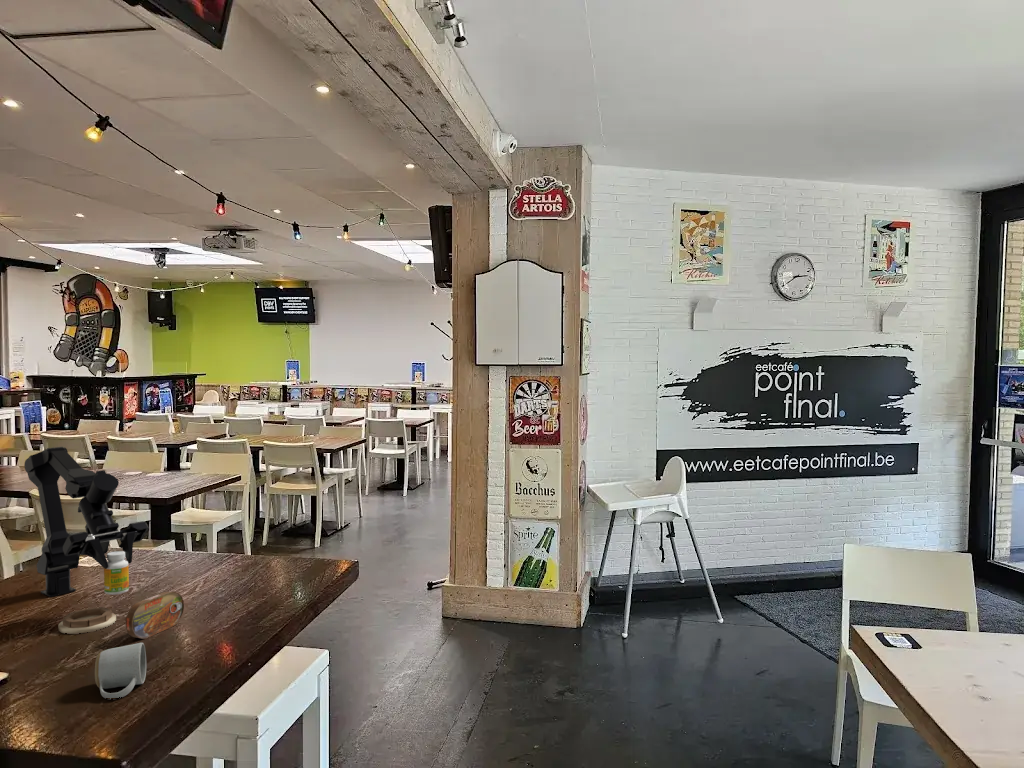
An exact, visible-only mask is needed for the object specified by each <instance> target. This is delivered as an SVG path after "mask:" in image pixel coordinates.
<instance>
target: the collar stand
mask: <svg viewBox="0 0 1024 768" xmlns="http://www.w3.org/2000/svg"><path fill="white" fill-rule="evenodd" d="M115 621H117V615H116V613H113V611H112V609H110V608H107V607H105V606H101V607H87V608H83V609H79V610H75V611H71V612H69V613H67V614H66V615H65V616H64V617H62V621H60V622H59V623H58V631H59V633H62V634H65V633H67V635H68V634H69V635H78V634H79V633H81V634H87V632H88V633H93V632H97V631H101V630H104V629H106V628H108V626H109V627H111V626H113V625H114V624H115V623H116V622H115ZM113 623H114V624H113ZM110 625H111V626H110ZM105 627H106V628H105ZM103 628H104V629H103ZM100 629H101V630H100ZM96 630H97V631H96ZM79 635H80V634H79Z"/></svg>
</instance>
